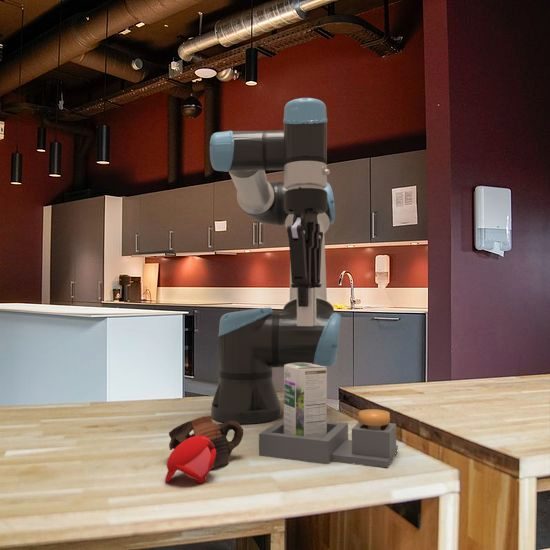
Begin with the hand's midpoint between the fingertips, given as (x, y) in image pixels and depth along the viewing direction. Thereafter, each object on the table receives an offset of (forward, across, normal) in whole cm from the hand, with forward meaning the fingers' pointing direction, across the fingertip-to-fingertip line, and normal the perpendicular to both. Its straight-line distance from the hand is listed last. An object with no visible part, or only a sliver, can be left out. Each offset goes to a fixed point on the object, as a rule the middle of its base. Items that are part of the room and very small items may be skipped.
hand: (306, 325), depth 91 cm
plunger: (+19, -1, -12) cm, 23 cm away
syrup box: (+21, 0, 0) cm, 21 cm away
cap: (+21, -20, +11) cm, 31 cm away
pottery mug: (+22, -12, +13) cm, 28 cm away
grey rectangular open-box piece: (+21, -1, -4) cm, 22 cm away
